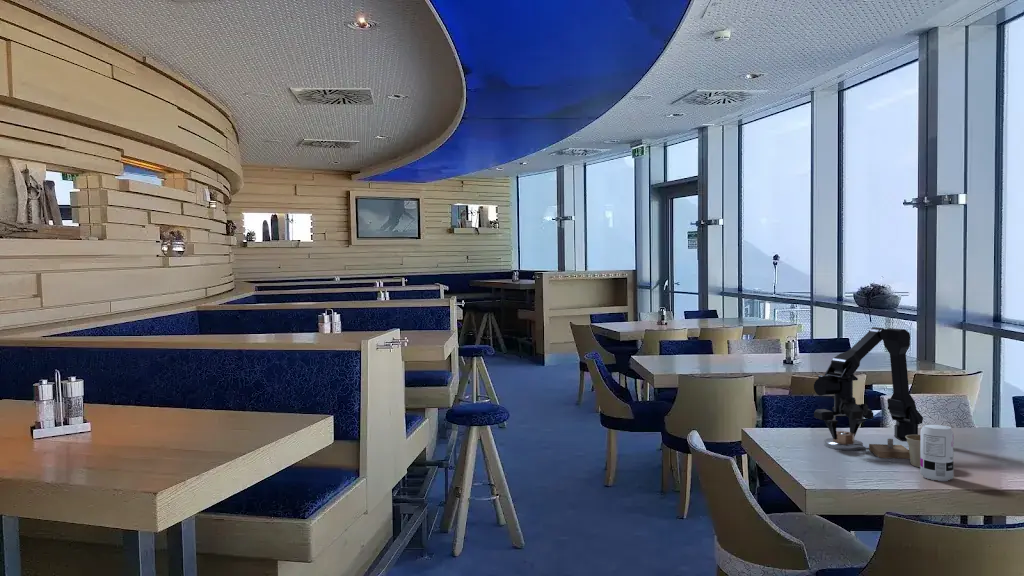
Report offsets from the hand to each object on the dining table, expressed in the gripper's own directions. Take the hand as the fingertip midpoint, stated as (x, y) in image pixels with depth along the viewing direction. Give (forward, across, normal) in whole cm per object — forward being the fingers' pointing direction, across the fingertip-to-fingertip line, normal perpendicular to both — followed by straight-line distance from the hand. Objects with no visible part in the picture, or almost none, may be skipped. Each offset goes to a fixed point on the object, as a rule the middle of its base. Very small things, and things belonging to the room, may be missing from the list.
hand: (843, 438), depth 243 cm
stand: (+2, +9, -12) cm, 15 cm away
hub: (+2, 0, 0) cm, 2 cm away
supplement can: (+3, +5, -38) cm, 39 cm away
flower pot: (+3, +10, -26) cm, 28 cm away
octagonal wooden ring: (+1, 0, 0) cm, 1 cm away
